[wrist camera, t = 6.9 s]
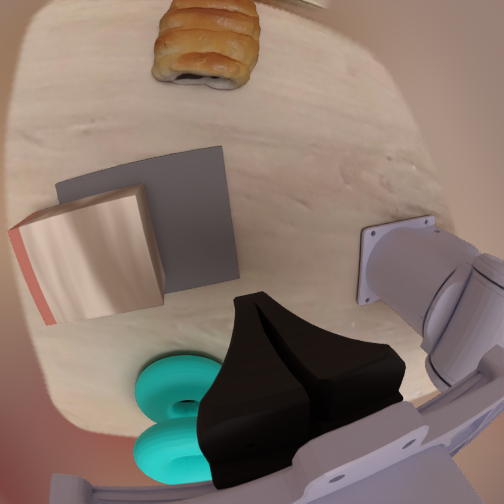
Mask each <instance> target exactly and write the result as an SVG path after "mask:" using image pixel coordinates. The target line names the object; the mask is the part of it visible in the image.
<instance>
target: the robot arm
mask: <svg viewBox="0 0 504 504" xmlns="http://www.w3.org/2000/svg"><path fill="white" fill-rule="evenodd" d="M372 231H373V233H372V234H371V232H372ZM366 299H367V300H366ZM381 299H382V300H383V301H384V302H385V303H386V304H387V305H388V306H389V307H390V308H391V309H393V310H394V311H395V312H396V313H397V314H398V315H399V316H400V317H401V318H402V319H403V320H404V321H405V322H407V323H408V324H409V325H410V326H411V327H412V328H413V329H414V330H415V331H416V332H417V333H418V334H419V335H420V336H421V337H422V338H423V341H422V343H421V345H420V347H421V348H422V349H423V350H424V351H425V352H426V353H427V354H428V356H427V357H426V360H425V368H426V371H427V373H428V375H429V378H430V380H431V381H432V383H433V384H434V386H435V387H436V388H437V389H438V390H439V391H440V392H442V393H441V394H439V395H437V396H436V397H434V398H433V399H431V400H429V401H428V402H426V403H424V404H423V405H421V406H419V407H418V408H415V407H414V406H413V404H412V403H410V402H407V401H403V396H402V395H401V394H400V392H399V388H400V386H401V383H402V380H403V377H404V374H405V369H406V366H405V362H404V361H403V360H402V359H401V358H400V356H399V355H398V354H397V353H396V352H395V351H394V350H393V349H392V348H391V347H390V346H389V345H387V344H379V343H371V342H364V341H360V340H355V339H351V338H347V337H344V336H340V335H337V334H334V333H331V332H329V331H326V330H324V329H321V328H319V327H317V326H315V325H312V324H310V323H309V322H307V321H305V320H303V319H301V318H300V317H298V316H296V315H295V314H293V313H292V312H290V311H289V310H287V309H286V308H284V307H283V306H282V305H280V304H279V303H278V302H276V301H275V300H274V299H272V298H271V297H270V296H269V295H267V294H266V293H265V292H263V291H262V292H257V293H253V294H248V295H244V296H239V297H235V299H234V300H233V301H234V307H235V321H234V328H233V333H232V338H231V342H230V346H229V349H228V352H227V355H226V357H225V360H224V362H223V365H222V367H221V369H220V371H219V373H218V375H217V376H216V378H215V380H214V382H213V384H212V385H211V387H210V388H209V390H208V391H207V392H206V394H205V395H204V397H203V398H202V399H201V401H200V404H199V409H198V415H197V423H196V433H197V439H198V445H199V448H200V450H201V452H202V454H203V455H204V457H205V458H206V460H207V462H208V463H209V466H210V471H211V476H212V480H208V481H201V482H193V483H184V484H173V485H159V486H130V487H129V486H128V487H127V486H121V487H120V486H97V485H91V484H90V483H89V482H88V481H87V480H86V479H84V478H82V477H79V476H75V475H66V474H56V473H53V474H52V479H51V487H50V497H49V504H485V503H484V502H483V501H482V499H481V498H480V496H479V495H478V494H477V492H476V491H475V489H474V488H473V486H472V485H471V484H470V482H469V481H468V480H467V478H466V477H465V475H464V474H463V473H462V471H461V470H460V468H459V467H458V466H457V464H456V463H455V462H454V460H453V459H452V457H453V456H455V455H456V454H457V453H458V452H459V451H460V450H462V449H463V448H464V447H465V446H467V445H468V444H469V443H470V442H471V441H472V440H473V439H474V438H475V437H477V436H478V435H479V434H480V433H481V432H482V431H483V430H484V429H485V428H486V427H487V426H488V425H490V424H491V423H492V422H493V421H494V420H495V419H496V418H497V417H498V416H499V415H500V414H501V413H502V412H503V411H504V261H503V260H501V259H499V258H497V257H495V256H492V255H489V254H486V253H484V254H481V253H480V252H479V250H478V249H477V248H476V247H475V246H473V245H472V244H470V243H468V242H466V241H464V240H462V239H460V238H459V237H457V236H455V235H453V234H451V233H449V232H447V231H445V230H443V229H441V228H439V227H437V226H435V217H434V216H433V215H428V216H423V217H419V218H414V219H409V220H404V221H399V222H394V223H389V224H384V225H379V226H374V227H369V228H365V229H364V230H363V232H362V245H361V262H360V276H359V288H358V299H357V303H358V304H359V305H360V306H363V305H366V304H369V303H372V302H375V301H378V300H381ZM401 401H402V402H401Z"/></svg>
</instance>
